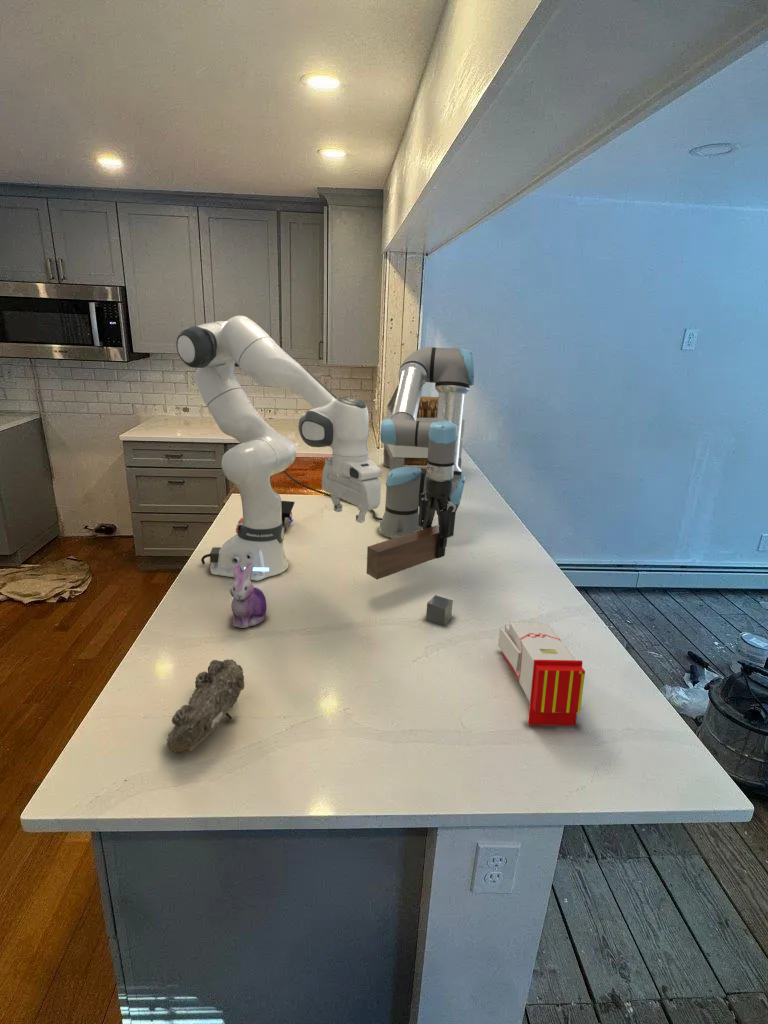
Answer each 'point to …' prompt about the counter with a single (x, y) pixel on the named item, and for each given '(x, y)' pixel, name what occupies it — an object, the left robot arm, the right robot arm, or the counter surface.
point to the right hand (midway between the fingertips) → (433, 553)
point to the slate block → (439, 610)
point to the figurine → (246, 599)
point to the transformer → (409, 454)
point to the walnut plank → (402, 552)
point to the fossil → (206, 705)
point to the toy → (544, 672)
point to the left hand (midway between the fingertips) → (348, 516)
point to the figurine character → (287, 513)
